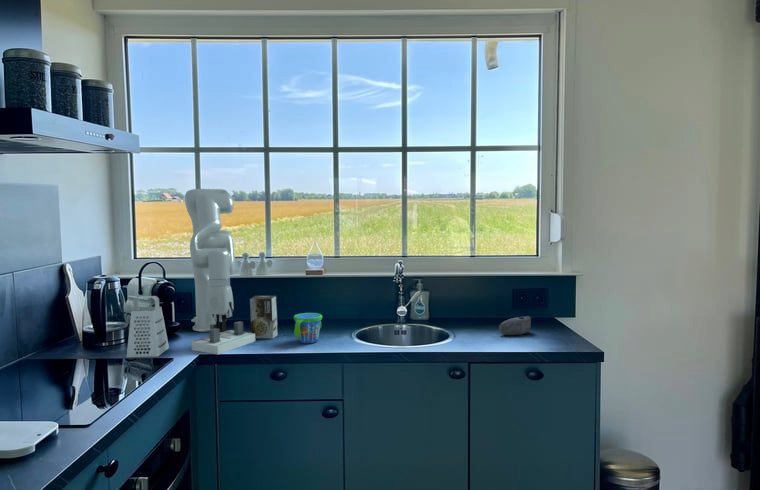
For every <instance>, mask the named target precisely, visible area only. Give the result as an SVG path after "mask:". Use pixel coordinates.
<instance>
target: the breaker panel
mask: <svg viewBox="0 0 760 490" xmlns="http://www.w3.org/2000/svg"><path fill="white" fill-rule="evenodd" d="M243 332H244V334H241V335H234V334H233V333H234V329H229V330H226V331H224V332H221V333H220V334H221V335H220V340H221V341H219V342H216V343H211V342H208V341H210V336H209V335H208V336H206V337H203V338H199V339H196V340H192V341H191V351H196V352H201V353H206V354H213V355H221V354H224V353H226V352H229V351H231V350H235V349H237V348H238V349H239V348H241V347H243V346H246V345H249V344H252V343H254V342H256V338H255V334H254V333H251V332H247V331H243Z"/></svg>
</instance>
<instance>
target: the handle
mask: <svg viewBox="0 0 760 490" xmlns="http://www.w3.org/2000/svg"><path fill="white" fill-rule="evenodd" d="M208 332H209V335H210V341H208V342H211V343H216V342H219V341H221V340H220V331H219V329H218V328H214V329H211V330H209V331H208Z"/></svg>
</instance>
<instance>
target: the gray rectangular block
mask: <svg viewBox="0 0 760 490" xmlns="http://www.w3.org/2000/svg"><path fill="white" fill-rule="evenodd" d="M233 331H234V333H233V334H234V335H241V334H244V332H245V331H244V322H243V321H235V322H234V323H233Z"/></svg>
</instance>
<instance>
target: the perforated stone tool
mask: <svg viewBox="0 0 760 490" xmlns="http://www.w3.org/2000/svg"><path fill="white" fill-rule="evenodd" d="M531 324H532V318H531V316H529V315H528V316H519V317H517V316H516V317H512V318H508V319H507V320H506V319H505V320H504V321H502V322H501V323H500V324H499V326H498V332H499V333H500V334H502V335H504V336H522V335H524V334H526V335H527V334H529V333H530V331H531V327H532V325H531Z"/></svg>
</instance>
